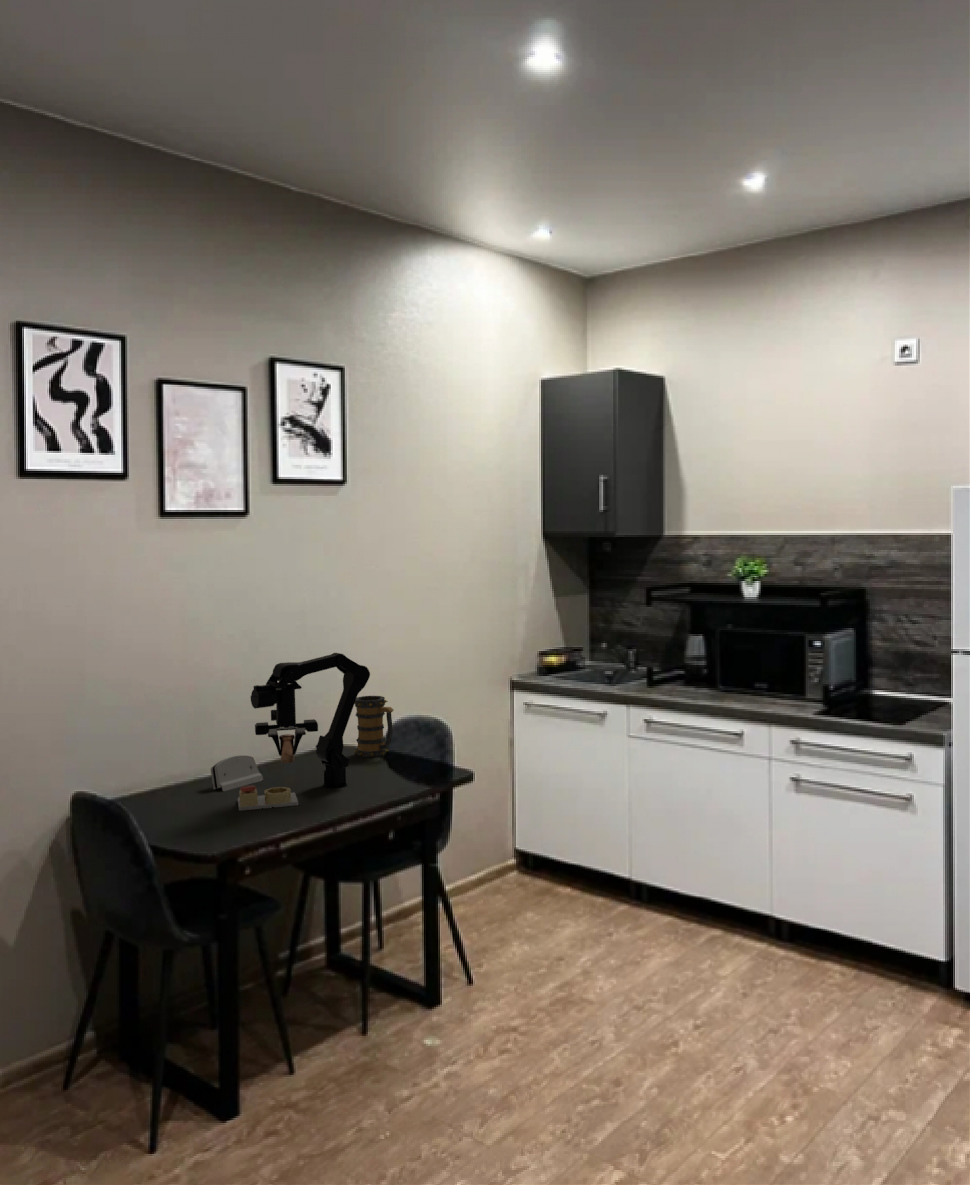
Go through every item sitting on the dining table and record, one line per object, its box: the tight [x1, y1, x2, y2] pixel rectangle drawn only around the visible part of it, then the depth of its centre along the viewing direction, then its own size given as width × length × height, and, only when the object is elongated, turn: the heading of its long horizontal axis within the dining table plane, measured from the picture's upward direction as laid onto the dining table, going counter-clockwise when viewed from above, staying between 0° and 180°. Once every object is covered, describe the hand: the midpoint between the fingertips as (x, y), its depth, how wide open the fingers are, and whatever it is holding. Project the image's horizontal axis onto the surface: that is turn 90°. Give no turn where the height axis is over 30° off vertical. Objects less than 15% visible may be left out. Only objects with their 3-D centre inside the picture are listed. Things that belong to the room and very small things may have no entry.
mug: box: [353, 695, 395, 758], centre depth 367 cm, size 13×17×20 cm
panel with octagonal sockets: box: [237, 784, 299, 811], centre depth 307 cm, size 17×11×5 cm, turn 105°
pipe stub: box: [278, 733, 295, 764], centre depth 316 cm, size 5×5×8 cm
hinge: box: [210, 755, 264, 792], centre depth 330 cm, size 17×5×10 cm, turn 143°
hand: (287, 754), depth 316 cm, fingers closed on pipe stub, 4 cm apart
